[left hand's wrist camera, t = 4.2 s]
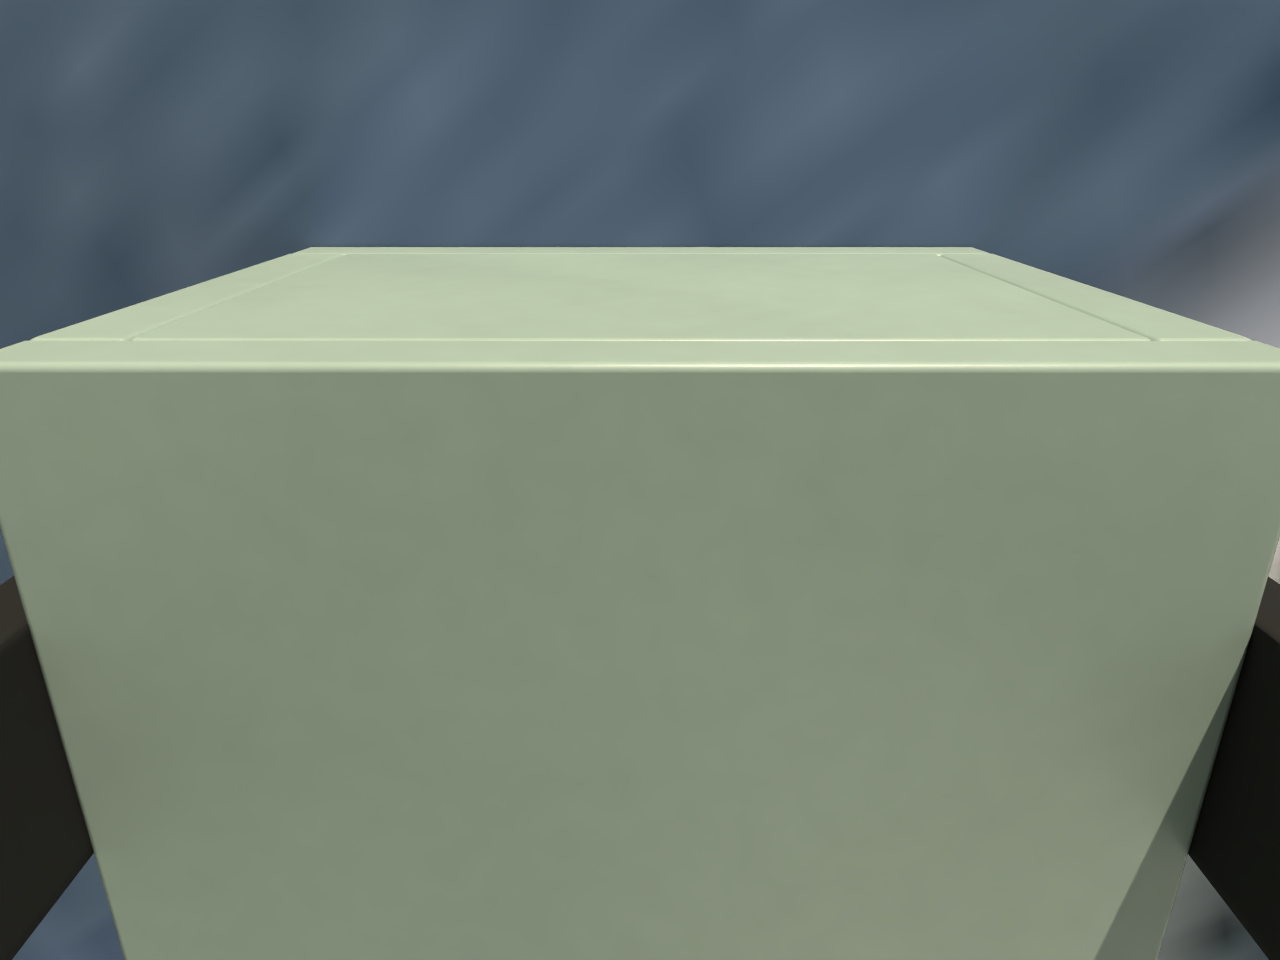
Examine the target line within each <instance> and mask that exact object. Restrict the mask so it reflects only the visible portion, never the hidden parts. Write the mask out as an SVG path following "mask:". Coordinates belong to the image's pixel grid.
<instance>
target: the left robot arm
mask: <svg viewBox="0 0 1280 960" xmlns="http://www.w3.org/2000/svg"><path fill="white" fill-rule="evenodd" d="M93 853H94V851H93V848H92V844H91V841H90V837H89V834H88V830H87V827H86V823H85V820H84V817H83V813H82V810H81V806H80V803H79V799H78V796H77V792H76V789H75V785H74V782H73V778H72V775H71V771H70V768H69V764H68V761H67V757H66V754H65V751H64V747H63V744H62V740H61V737H60V733H59V730H58V726H57V723H56V719H55V716H54V712H53V709H52V705H51V702H50V698H49V695H48V692H47V688H46V685H45V681H44V678H43V674H42V671H41V667H40V664H39V660H38V657H37V653H36V650H35V646H34V643H33V639H32V636H31V632H30V629H29V626H28V622H27V619H26V615H25V612H24V608H23V605H22V601H21V598H20V594H19V591H18V587H17V584H16V580H15V577H14V576H13V577H12V578H10V579H9V580H7V581H6V582H4V583H3V584H2V585H0V960H12V959H13V957H14V956H15V955H16V954H17V952H18V951H19V950H20V948H21V947H22V946H23V944H24V943H25V942H26V940H27V939H28V938H29V937H30V935H31V934H32V933H33V931H34V930H35V929H36V927H37V926H38V925H39V924H40V922H41V921H42V920H43V918H44V917H45V916H46V914H47V913H48V912H49V910H50V909H51V908H52V907H53V905H54V904H55V903H56V901H57V900H58V899H59V897H60V896H61V895H62V894H63V892H64V891H65V890H66V888H67V887H68V886H69V884H70V883H71V882H72V880H73V879H74V878H75V877H76V875H77V874H78V873H79V871H80V870H81V869H82V867H83V866H84V865H85V863H86V862H87V861H88V860H89V858H90V857H91V856H92V854H93ZM1188 854H1189V856H1190V857H1191V858H1192V860H1193V861H1194V862H1195V863H1196V865H1197V866H1198V867H1199V869H1200V870H1201V871H1202V873H1203V874H1204V875H1205V876H1206V878H1207V879H1208V880H1209V882H1210V883H1211V884H1212V886H1213V887H1214V888H1215V890H1216V891H1217V892H1218V893H1219V895H1220V896H1221V897H1222V899H1223V900H1224V901H1225V903H1226V904H1227V905H1228V906H1229V908H1230V909H1231V910H1232V912H1233V913H1234V914H1235V916H1236V917H1237V918H1238V920H1239V921H1240V922H1241V923H1242V925H1243V926H1244V927H1245V929H1246V930H1247V931H1248V933H1249V934H1250V935H1251V936H1252V938H1253V939H1254V940H1255V942H1256V943H1257V944H1258V946H1259V947H1260V948H1261V950H1262V951H1263V952H1264V953H1265V955H1266V956H1267V957H1268V959H1269V960H1280V584H1278V583H1277V582H1275V581H1274V580H1272V579H1271V578H1270V577H1268V578H1267V582H1266V585H1265V589H1264V592H1263V596H1262V599H1261V603H1260V606H1259V610H1258V613H1257V617H1256V620H1255V624H1254V627H1253V630H1252V634H1251V637H1250V641H1249V644H1248V648H1247V651H1246V655H1245V658H1244V662H1243V665H1242V669H1241V672H1240V675H1239V679H1238V682H1237V686H1236V689H1235V693H1234V696H1233V700H1232V703H1231V707H1230V710H1229V714H1228V717H1227V721H1226V724H1225V727H1224V731H1223V734H1222V738H1221V741H1220V745H1219V748H1218V752H1217V755H1216V759H1215V762H1214V766H1213V769H1212V773H1211V776H1210V779H1209V783H1208V786H1207V790H1206V793H1205V797H1204V800H1203V804H1202V807H1201V811H1200V814H1199V818H1198V821H1197V824H1196V828H1195V831H1194V835H1193V838H1192V842H1191V845H1190V849H1189V852H1188Z"/></svg>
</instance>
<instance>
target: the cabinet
mask: <svg viewBox="0 0 1280 960" xmlns="http://www.w3.org/2000/svg"><path fill="white" fill-rule="evenodd" d="M0 528H1V532H2V535H3V539H4V542H5V546H6V549H7V553H8V556H9V560H10V563H11V566H12V570H13V573H14V577H15V580H16V584H17V587H18V591H19V594H20V598H21V601H22V605H23V608H24V612H25V615H26V619H27V622H28V626H29V629H30V632H31V636H32V639H33V643H34V646H35V650H36V653H37V657H38V660H39V664H40V667H41V671H42V674H43V678H44V681H45V685H46V688H47V692H48V695H49V698H50V702H51V705H52V709H53V712H54V716H55V719H56V723H57V726H58V730H59V733H60V737H61V740H62V744H63V747H64V751H65V754H66V757H67V761H68V764H69V768H70V771H71V775H72V778H73V782H74V785H75V789H76V792H77V796H78V799H79V803H80V806H81V810H82V813H83V817H84V820H85V823H86V827H87V830H88V834H89V837H90V841H91V844H92V848H93V851H94V855H95V858H96V862H97V865H98V869H99V872H100V876H101V879H102V882H103V886H104V889H105V893H106V896H107V900H108V903H109V907H110V910H111V914H112V917H113V921H114V924H115V928H116V931H117V935H118V938H119V942H120V945H121V948H122V952H123V955H124V959H125V960H1158V956H1159V953H1160V949H1161V946H1162V942H1163V939H1164V935H1165V932H1166V928H1167V925H1168V921H1169V918H1170V915H1171V911H1172V908H1173V904H1174V901H1175V897H1176V894H1177V890H1178V887H1179V883H1180V880H1181V876H1182V873H1183V870H1184V866H1185V863H1186V859H1187V856H1188V852H1189V849H1190V845H1191V842H1192V838H1193V835H1194V831H1195V828H1196V824H1197V821H1198V818H1199V814H1200V811H1201V807H1202V804H1203V800H1204V797H1205V793H1206V790H1207V786H1208V783H1209V779H1210V776H1211V773H1212V769H1213V766H1214V762H1215V759H1216V755H1217V752H1218V748H1219V745H1220V741H1221V738H1222V734H1223V731H1224V727H1225V724H1226V721H1227V717H1228V714H1229V710H1230V707H1231V703H1232V700H1233V696H1234V693H1235V689H1236V686H1237V682H1238V679H1239V675H1240V672H1241V669H1242V665H1243V662H1244V658H1245V655H1246V651H1247V648H1248V644H1249V641H1250V637H1251V634H1252V630H1253V627H1254V624H1255V620H1256V617H1257V613H1258V610H1259V606H1260V603H1261V599H1262V596H1263V592H1264V589H1265V585H1266V582H1267V578H1268V575H1269V572H1270V568H1271V565H1272V561H1273V558H1274V554H1275V551H1276V547H1277V544H1278V540H1279V537H1280V349H1279V348H1276V347H1273V346H1270V345H1267V344H1264V343H1261V342H1258V341H1252V340H1251V339H1249V338H1246V337H1244V336H1241V335H1237V334H1234V333H1231V332H1228V331H1225V330H1222V329H1219V328H1216V327H1213V326H1210V325H1207V324H1204V323H1201V322H1198V321H1195V320H1192V319H1189V318H1186V317H1183V316H1180V315H1177V314H1174V313H1171V312H1168V311H1165V310H1161V309H1158V308H1155V307H1152V306H1149V305H1146V304H1143V303H1140V302H1137V301H1134V300H1131V299H1128V298H1125V297H1122V296H1119V295H1116V294H1113V293H1110V292H1107V291H1104V290H1101V289H1098V288H1095V287H1092V286H1089V285H1085V284H1082V283H1079V282H1076V281H1073V280H1070V279H1067V278H1064V277H1061V276H1058V275H1055V274H1052V273H1049V272H1046V271H1043V270H1040V269H1037V268H1034V267H1031V266H1028V265H1025V264H1022V263H1019V262H1016V261H1013V260H1009V259H1006V258H1003V257H1000V256H997V255H994V254H989V253H987V252H984V251H981V250H978V249H975V248H972V247H311V248H308V249H305V250H302V251H299V252H296V253H293V254H288V255H285V256H282V257H279V258H276V259H273V260H270V261H267V262H264V263H261V264H258V265H254V266H251V267H248V268H245V269H242V270H239V271H236V272H233V273H230V274H227V275H224V276H221V277H218V278H215V279H212V280H209V281H206V282H203V283H200V284H197V285H193V286H190V287H187V288H184V289H181V290H178V291H175V292H172V293H169V294H166V295H163V296H160V297H157V298H154V299H151V300H148V301H145V302H142V303H139V304H136V305H132V306H129V307H126V308H123V309H120V310H117V311H114V312H111V313H108V314H105V315H102V316H99V317H96V318H93V319H90V320H87V321H84V322H81V323H78V324H75V325H71V326H68V327H65V328H62V329H59V330H56V331H53V332H50V333H47V334H44V335H41V336H38V337H35V338H33V339H31V340H30V341H24V342H20V343H17V344H14V345H11V346H8V347H5V348H2V349H0Z"/></svg>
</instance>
